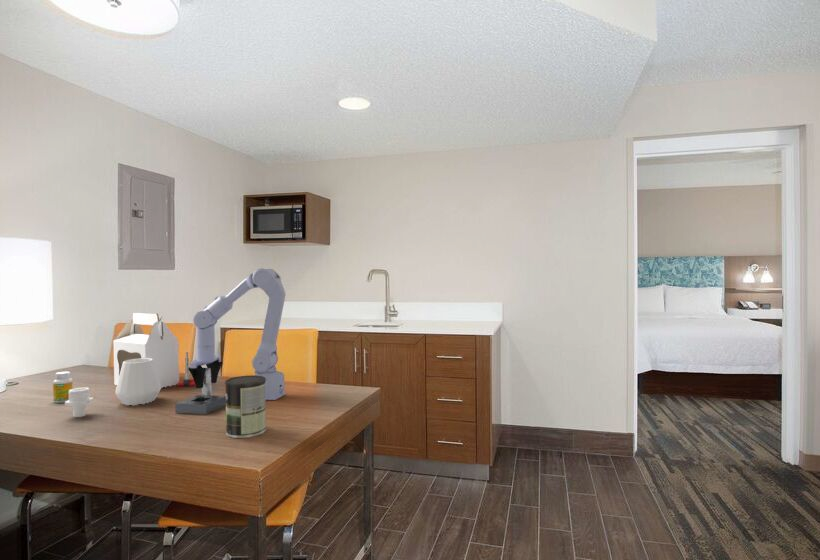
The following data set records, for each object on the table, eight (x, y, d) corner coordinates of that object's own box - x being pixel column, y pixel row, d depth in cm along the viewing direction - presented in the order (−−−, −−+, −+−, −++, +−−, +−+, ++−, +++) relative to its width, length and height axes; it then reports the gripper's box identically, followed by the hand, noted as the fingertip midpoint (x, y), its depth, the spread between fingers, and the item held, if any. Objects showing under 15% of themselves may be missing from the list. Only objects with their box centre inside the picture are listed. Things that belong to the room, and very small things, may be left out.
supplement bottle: (54, 404, 160) (53, 375, 159) (53, 400, 164) (52, 372, 164) (73, 401, 163) (73, 372, 163) (72, 398, 167) (71, 370, 167)
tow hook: (185, 382, 192) (174, 386, 183) (185, 350, 192) (175, 352, 183) (206, 382, 192) (197, 386, 183) (207, 349, 193) (197, 352, 183)
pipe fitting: (61, 419, 141) (61, 392, 141) (73, 413, 148) (73, 387, 148) (85, 418, 143) (85, 391, 143) (96, 411, 150) (95, 386, 150)
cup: (163, 395, 170) (162, 355, 170) (158, 404, 157) (157, 362, 157) (119, 399, 165) (119, 358, 165) (111, 409, 152) (110, 365, 152)
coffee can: (220, 439, 123) (219, 384, 122) (232, 426, 133) (231, 375, 133) (261, 437, 123) (260, 383, 123) (270, 425, 133) (269, 374, 133)
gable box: (180, 384, 187) (178, 312, 186) (146, 391, 175) (145, 315, 175) (147, 378, 198) (145, 311, 198) (113, 385, 187) (112, 313, 186)
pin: (213, 396, 166) (212, 368, 166) (208, 399, 163) (207, 369, 163) (205, 396, 167) (205, 367, 167) (200, 398, 164) (199, 369, 164)
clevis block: (226, 405, 155) (225, 396, 155) (206, 414, 145) (205, 404, 145) (197, 404, 157) (196, 394, 157) (175, 413, 147) (175, 403, 147)
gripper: (208, 342, 173) (208, 380, 173) (181, 348, 158) (182, 389, 159) (225, 343, 171) (226, 380, 171) (200, 349, 157) (201, 390, 157)
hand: (206, 385), depth 165 cm, fingers open, 7 cm apart
